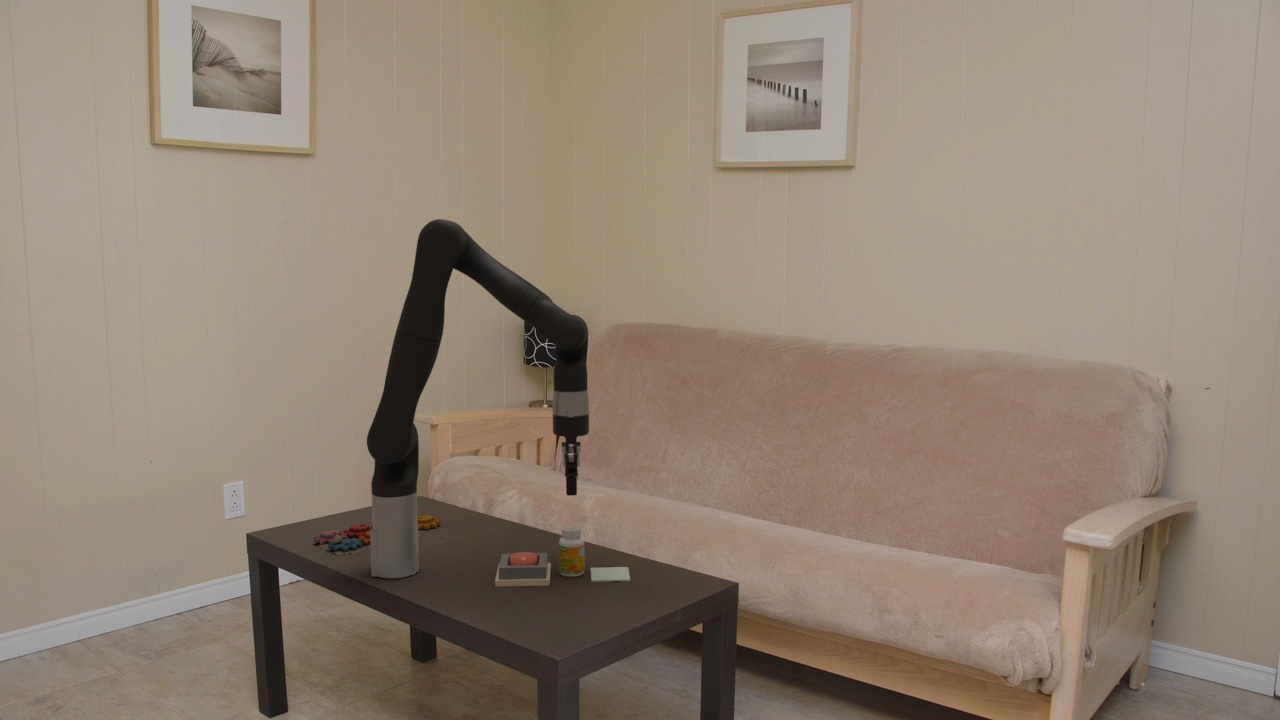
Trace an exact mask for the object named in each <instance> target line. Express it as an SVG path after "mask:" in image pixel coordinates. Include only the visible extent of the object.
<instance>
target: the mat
mask: <svg viewBox="0 0 1280 720" xmlns="http://www.w3.org/2000/svg"><path fill="white" fill-rule="evenodd" d="M630 576H631V575H630V570H629V567H628V566H618V567H617V566H616V567H614V566H613V567H611V566H610V567H609V566H607V567H590V579H591V583H612V582H613V583H614V581H620V582H631V577H630ZM611 581H612V582H611Z"/></svg>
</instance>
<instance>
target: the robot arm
mask: <svg viewBox="0 0 1280 720" xmlns="http://www.w3.org/2000/svg"><path fill="white" fill-rule="evenodd" d="M453 270H455V271H458V272H460V273H461V274H464V275H465V276H467V277H468V278H470V279H471V280H473V281H474V282H475V283H476V284H478V285H479V286H481V287H482V288H483V289H484V290H485V291H487V292H488V293H489V294H490V295H491V296H492V297H493V298H494V299H495V300H496V301H498V302H499V303H500V304H501V305H502V306H503V307H504V308H505V309H507V310H509V311H510V312H511V313H513V314H514V315H515V316H517V317H518V318H520V319H521V320H522V321H524V322H526V323H527V324H528V325H530V326H532V327H533V328H534V329H535V330H536V331H537V332H538V333H540V334H541V335H542V336H543V337H545V339H547V341H549V342H550V343H551V344H552V345H554V346H555V364H554V367H553V395H552V433H553V434H554V436H557V437H563V438H565V441H562V442H561V453H562V466H563V467H564V468H565V470H564V477H565V489H566V491H565V494H566V496H570V497H571V496H576V495H577V494H578V476H579V469H578V468H579V467H580V460H581V459H580V453H581V449H582V448H581V445H582V444H581V441H577V438H578V437H583V436H586V435H589V433H590V403H589V402H590V401H589V394H588V393H589V392H588V367H587V360H588V347H589V328H588V325H587V322H586V321H585V320H584V319H583V318H582V317H581V316H579V315H576V314H570V313H569V312H567V311H566V310H565V309H564V308H563V307H562V308H561V307H560V306H559V305H557V304H556V303H555V302H554V301H553V300H552V298H551V297H550V296H548V295H547V294H546V293H545V292H543V291H542V290H540V289H539V288H538V287H536V286H535V285H534V284H532V283H531V282H529V281H528V280H527V279H525V278H523V277H522V276H520V275H519V274H517V273H516V272H515V271H513V270H511V269H510V268H509V267H507V266H506V265H504V264H502V263H501V262H500V261H498V260H497V259H496V258H495V257H493V256H492V255H491V254H489V253H488V252H487V251H486V250H485V249H484V248H482V247H481V246H480V245H479V244H478V242H476V241H475V240H474V239H473V238H472V237H471V236H470V235H469V234H468V232H467V231H466V230H465V228H463V227H462V226H461V225H460V224H458V223H457V222H455V221H452V220H448V219H443V218H442V219H441V218H439V219H438V218H437V219H433V220H431V221H429V222H428V223H426V224H425V225H424V226H423V227H422V228H421V230H420V232H419V234H418V238H417V242H416V249H415V257H414V265H413V270H412V275H411V281H410V284H409V288H408V291H407V295H406V297H405V300H404V303H403V306H402V309H401V313H400V317H399V320H398V322H397V327H396V330H395V335H394V339H393V343H392V344H391V345H392V346H391V350H390V351H391V352H390V356H389V358H388V359H389V360H388V363H387V365H388V366H387V370H386V374H385V379H384V386H383V391H382V394H381V398H380V401H379V404H378V406H377V409H376V412H375V414H374V418H373V419H372V422H371V424H370V425H371V426H370V428H369V430H368V433H367V437H366V446H367V450H368V453H369V455H370V456H371V458H373V460H374V470H373V476H372V479H371V484H370V485H371V486H370V487H371V513H372V515H371V517H372V519H371V520H372V522H371V523H372V524H373V529H372V531H371V533H370V541H371V549H370V565H371V566H370V568H371V569H370V570H371V573H370V574H371V576H370V577H378V578H382V579H401V578H406V577H410V575H411V576H413V575H415V574H417V573H418V572H419V562H420V561H419V560H420V559H419V538H418V531H419V529H418V517H419V516H418V478H419V469H420V467H419V465H420V464H419V462H420V458H419V457H420V455H419V454H420V453H419V452H420V451H419V450H420V448H419V446H420V445H419V433H418V428H417V426H416V425H415V423H414V420H415V415H416V410H417V406H418V403H419V401H420V398H421V395H422V393H423V391H424V389H425V388H426V385H427V383H428V381H429V378H430V375H431V373H432V371H433V368H434V366H435V363H436V361H437V357H438V354H439V351H440V347H441V343H442V339H443V334H444V328H445V327H444V326H445V315H446V314H445V313H446V311H445V307H446V296H447V289H448V285H449V282H450V279H451V276H452V273H453ZM372 524H371V525H372ZM416 572H417V573H416Z"/></svg>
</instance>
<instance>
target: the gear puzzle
mask: <svg viewBox="0 0 1280 720" xmlns="http://www.w3.org/2000/svg"><path fill="white" fill-rule="evenodd" d="M417 517H418V533H422V534H423V532H422V531H419V530H421V529H424V530H428V529H430V528H437V527H438V526H441V525H442V521H440V520H441V519H440V518H435V517H434V516H433V515H420V516H417ZM372 529H373V524H371V525H370V526H369V524H363V523H362V524H361V523H359V524H354V525H352V526H350V528H348V529H345V530H343V531H342V532H341V530H337V529H328V530H324V531H322V532H320V534H319V535H316V536H315V535H314V536H313V539H312V541H314V543H320V544H319V545H322V546H328V547H327V548H328V549H329V550H334V551H333V552H337V553H338V554H341V553H345V552H351V553H355V552H360V553H361V551H358V550H360V549H366V547H367V548H371V541H370V533H371V531H372ZM422 534H418V537H420V536H422V537H423V535H422ZM348 538H349V539H348ZM364 546H365V547H364ZM366 550H367V549H366Z"/></svg>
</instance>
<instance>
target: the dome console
mask: <svg viewBox="0 0 1280 720" xmlns="http://www.w3.org/2000/svg"><path fill="white" fill-rule="evenodd" d="M534 553H535V554H537V565H512V566H510V555H512V554H513V553H501V556H500V559H499V563H498V567H497V570H496V575H495V579H494V587H495V588H498V587H499V588H500V587H504V588H505V587H538V586H539V587H542V586H544V587H545V586H546V587H547V586H548V587H549V586H550V585H551V573H552V572H551V571H552V569H551V568H552V567H551V566H552V563H551V562H548V552H534Z"/></svg>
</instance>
